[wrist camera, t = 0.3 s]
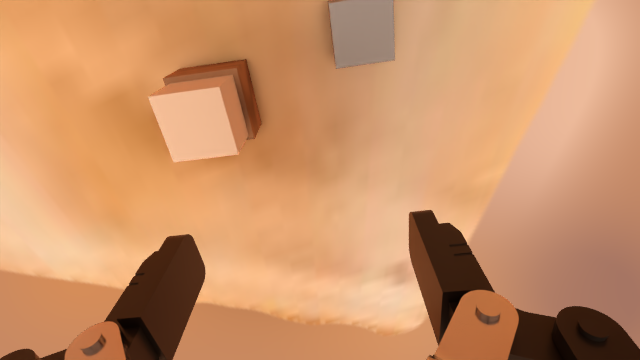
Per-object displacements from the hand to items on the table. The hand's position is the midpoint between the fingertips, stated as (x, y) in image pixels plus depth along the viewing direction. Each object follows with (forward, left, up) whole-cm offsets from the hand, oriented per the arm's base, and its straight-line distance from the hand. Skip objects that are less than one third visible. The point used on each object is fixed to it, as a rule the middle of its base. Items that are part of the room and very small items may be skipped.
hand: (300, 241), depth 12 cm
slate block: (-4, +5, -26) cm, 27 cm away
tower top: (+1, -10, -22) cm, 24 cm away
